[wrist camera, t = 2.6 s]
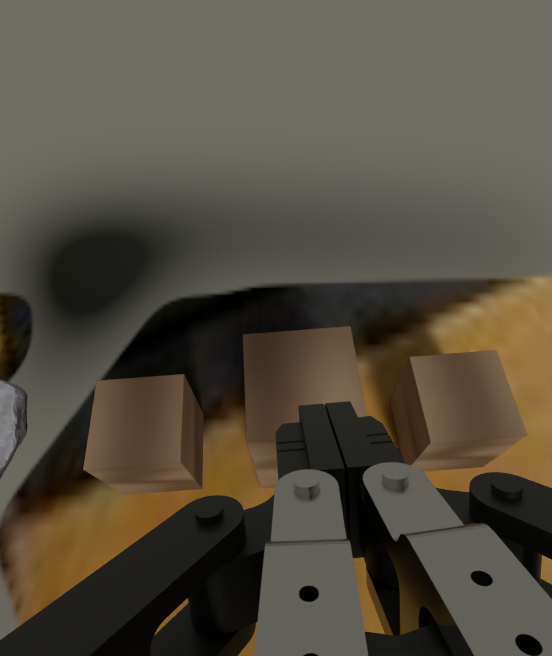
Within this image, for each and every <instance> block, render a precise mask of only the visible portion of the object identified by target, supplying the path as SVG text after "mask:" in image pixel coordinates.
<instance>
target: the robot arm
mask: <svg viewBox="0 0 552 656" xmlns="http://www.w3.org/2000/svg"><path fill="white" fill-rule="evenodd" d="M275 434H276V451H277V467H278V482H277V484H276V486H275V494H274V495H273V496H272V497H271V498H270V499H269V500H267V501H266V502H264V503H262V504H260V505H258V506H255V507H252V508H249V509H246V510H243V507H242V505H241V504H240V503H239V502H238V501H237V500H235V499H233V498H231V497H227V496H219V495H216V496H207V497H203V498H200V499H197V500H195V501H193V502H191V503H189V504H187V505H186V506H185V507H183V508H182V509H180V510H179V511H178V512H176V513H175V514H174V515H172V516H171V517H169V518H168V519H167V520H165V521H164V522H163V523H161V524H160V525H158V526H157V527H156V528H154V529H153V530H151V531H150V532H149V533H147V534H146V535H145V536H143V537H142V538H140V539H139V540H138V541H136V542H135V543H134V544H132V545H131V546H129V547H128V548H127V549H125V550H124V551H123V552H121V553H120V554H118V555H117V556H116V557H114V558H113V559H112V560H110V561H109V562H107V563H106V564H105V565H103V566H102V567H101V568H99V569H98V570H96V571H95V572H94V573H92V574H91V575H89V576H88V577H87V578H85V579H84V580H83V581H81V582H80V583H78V584H77V585H76V586H74V587H73V588H72V589H70V590H69V591H67V592H66V593H65V594H63V595H62V596H61V597H59V598H58V599H56V600H55V601H54V602H52V603H51V604H50V605H48V606H47V607H45V608H44V609H43V610H41V611H40V612H39V613H37V614H36V615H34V616H33V617H32V618H30V619H29V620H27V621H26V622H25V623H23V624H22V625H21V626H19V627H18V628H16V629H15V630H14V631H12V632H11V633H10V634H8V635H7V636H6V637H4V638H3V639H1V640H0V656H238V654H239V653H240V652H241V651H242V650H243V648H244V647H245V646H246V645H247V644H248V642H249V641H250V639H251V638H252V636H253V634H254V631H255V627H256V622H257V632H256V643H255V653H254V656H552V585H551V584H550V583H548V582H546V581H544V580H542V579H540V575H541V562H542V555H543V556H545V557H548V558H550V559H552V488H549V487H547V486H544V485H541V484H539V483H536V482H533V481H530V480H528V479H525V478H522V477H519V476H516V475H512V474H507V473H499V472H491V473H484V474H480V475H478V476H476V477H474V478H473V479H472V480H471V482H470V487H469V492H460V491H451V490H444V489H439V488H435V487H434V485H433V484H432V483H431V482H430V480H429V479H428V478H427V476H426V475H425V474H424V473H423V472H422V471H420V470H419V469H417V468H415V467H413V466H411V465H407V464H405V462H404V460H403V458H402V457H401V455H400V453H399V451H398V450H397V448H396V446H395V445H394V443H392V439H391V438H390V436H389V435H388V432H387V431H386V429H385V427H384V426H383V424H382V423H381V422H379V421H377V420H376V419H374V418H373V417H371V416H365V417H358V416H357V414H356V412H355V410H354V408H353V406H352V404H351V402H350V401H346V402H334V403H325V407H324V404H311V405H299V422H296V423H284V424H282V425H281V426H280V427H279V429H278V430H277V431H276V433H275ZM360 557H364V559H365V563H366V578H367V587H368V590H369V593H370V596H371V598H372V601H373V604H374V606H375V609H376V612H377V614H378V617H379V619H380V622H381V625H382V627H383V630H384V633H385V634H378V633H371V632H364V625H363V619H362V613H361V607H360V600H359V594H358V588H357V582H356V575H355V569H354V563H353V558H360ZM187 598H188V602H189V603H188V604H187V605H186V606H185V607H184V608H183V609H182V610H181V611H180V612H179V613H178V614H177V615H176V616H174V617H173V618H172V619H171V620H170V621H169V622H168V623H167V624H166V625H165V626H164V627H163V628H162V629H161V630H160V631H159V632H158V633H157V634H156V635H155V636H154V634H155V632H156V630H157V629H158V627H159V625H160V624H161V623H162V622H163V621H164V620H165V619H166V618H167V617H168V616H169V615H170V614H171V613H172V612H173V611H174V610H175V609H176V608H177V607H178V606H179V605H180V604H181V603H183V602H184V601H185V600H186V599H187ZM153 636H154V637H153Z"/></svg>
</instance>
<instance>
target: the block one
mask: <svg viewBox="0 0 552 656" xmlns="http://www.w3.org/2000/svg"><path fill="white" fill-rule="evenodd" d="M390 404H391V408H392V413H393V418H394V423H395V427H396V432H397V437H398V441H399V446H400V451H401V456H402V458H403V460H404V462H405V464H407V465H411V466H413V467H415V468H417V469H419V470H420V471H422V472H423V471H436V470H449V469H461V468H474V467H483V466H485V465H486V464H488V463H489V462H490V461H492V460H493V459H495V458H496V457H497V456H499V455H500V454H501V453H503V452H504V451H506V450H507V449H508V448H510V447H511V446H513V445H514V444H515V443H517V442H518V441H520V440H521V439H522V438H524V437H525V436H526V435H527V433H526V430H525V427H524V425H523V422H522V419H521V417H520V414H519V411H518V408H517V406H516V403H515V400H514V397H513V395H512V392H511V389H510V386H509V384H508V381H507V378H506V375H505V373H504V370H503V367H502V364H501V362H500V359H499V356H498V353H497V351H496V350H492V351H479V352H466V353H453V354H440V355H427V356H414V357H409V359H408V362H407V364H406V366H405V368H404V370H403V372H402V374H401V377H400V379H399V381H398V383H397V385H396V387H395V389H394V392H393V394H392V396H391V398H390Z"/></svg>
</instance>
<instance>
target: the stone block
mask: <svg viewBox="0 0 552 656" xmlns="http://www.w3.org/2000/svg"><path fill="white" fill-rule="evenodd" d="M26 434H27V394H26V392H25V391H24V390H23V389H22V388H20V387H19V386H17V385H14V384H11V383H9V382H6V381H3V380H0V478H1V477H2V475H3V473H4V471H5V470H6V468H7V466H8V465H9V463H10V462H11V460H12V458H13V455H14V453H15V452H16V449H17V448H18V446H19V445H20V444H21V443H22V441H23V439H24V438H25V436H26Z"/></svg>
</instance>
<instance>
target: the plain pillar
mask: <svg viewBox="0 0 552 656" xmlns="http://www.w3.org/2000/svg"><path fill="white" fill-rule="evenodd" d="M243 351H244V380H245V409H246V438H247V444H248V447H249V450H250V453H251V457H252V460H253V463H254V467H255V470H256V473H257V477H258V480H259V483H260V486H261V488H270V487H275V486H276V484H277V482H278V467H277V451H276V434H275V433H276V431H277V430H278V429H279V427H280V426H281V425H282V424H284V423H296V422H299V405H311V404H324V407H325V403H334V402H346V401H350V402H351V404H352V406H353V408H354V410H355V412H356V414H357V416H358V417H365V416H367V415H366V410H365V404H364V399H363V393H362V388H361V382H360V376H359V371H358V365H357V360H356V354H355V349H354V343H353V337H352V332H351V326H347V327H334V328H321V329H308V330H295V331H282V332H269V333H256V334H243Z"/></svg>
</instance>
